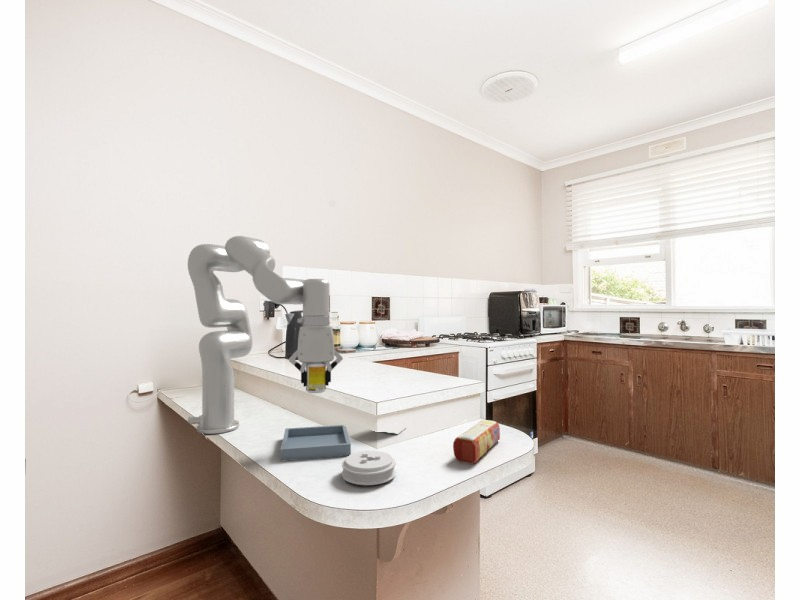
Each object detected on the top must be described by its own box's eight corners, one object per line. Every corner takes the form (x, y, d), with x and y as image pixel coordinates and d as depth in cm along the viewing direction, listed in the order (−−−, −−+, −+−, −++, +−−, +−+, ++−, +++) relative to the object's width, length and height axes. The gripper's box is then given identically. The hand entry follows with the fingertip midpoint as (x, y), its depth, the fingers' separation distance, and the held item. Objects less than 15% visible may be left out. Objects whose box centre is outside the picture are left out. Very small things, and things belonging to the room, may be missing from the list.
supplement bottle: (329, 391, 116) (329, 356, 116) (311, 394, 113) (311, 357, 113) (319, 388, 120) (320, 354, 121) (302, 391, 117) (302, 355, 117)
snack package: (480, 438, 123) (480, 416, 124) (502, 442, 120) (501, 419, 120) (452, 461, 105) (452, 435, 105) (476, 467, 102) (476, 439, 102)
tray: (280, 461, 105) (280, 449, 105) (285, 438, 123) (285, 428, 123) (350, 455, 109) (350, 444, 109) (345, 434, 127) (345, 424, 127)
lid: (406, 480, 94) (406, 459, 94) (357, 494, 87) (357, 471, 87) (378, 462, 105) (378, 443, 105) (333, 473, 98) (333, 452, 98)
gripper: (284, 323, 111) (284, 389, 111) (347, 322, 115) (347, 386, 115) (285, 321, 118) (285, 384, 118) (345, 321, 122) (345, 381, 122)
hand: (316, 384), depth 117 cm, fingers closed on supplement bottle, 5 cm apart
